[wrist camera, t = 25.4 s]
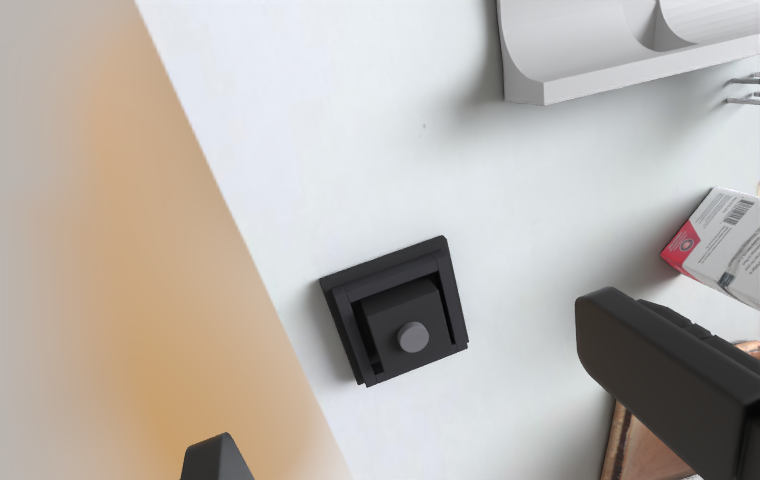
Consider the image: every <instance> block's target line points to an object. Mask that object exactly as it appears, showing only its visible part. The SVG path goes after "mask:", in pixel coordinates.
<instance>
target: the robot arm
mask: <svg viewBox="0 0 760 480" xmlns="http://www.w3.org/2000/svg"><path fill="white" fill-rule="evenodd" d="M575 323H576V342H577V353H578V356H579V359H580V361H581V363H582V365H583V367H584V368H585V370H586V371H587V373H588V374H589V375H590V376H591V377H592V378H593V379H594V380H595V381H596V382H598V383H599V384H600V385H601V386H602V387H603V388H604V389H605V390H606V391H607V392H608V393H610V394H611V395H612V396H613V397H614V398H615V399H616V400H617V401H618V402H619V403H621V404H622V405H623V406H624V407H625V408H626V409H627V410H628V411H629V412H630V413H631V414H633V415H634V416H635V417H636V418H637V419H638V420H639V421H640V422H641V423H642V424H644V425H645V426H646V427H647V428H648V429H649V430H650V431H651V432H652V433H653V434H654V435H656V436H657V437H658V438H659V439H660V440H661V441H662V442H663V443H664V444H665V445H667V446H668V447H669V448H670V449H671V450H672V451H673V452H674V453H675V454H676V455H677V456H679V457H680V458H681V459H682V460H683V461H684V462H685V463H686V464H687V465H688V466H690V467H691V468H692V469H693V470H694V471H695V472H696V473H697V474H698V475H699V476H701V477H702V478H703V479H704V480H760V360H758V359H757V358H755V357H753V356H751V355H750V354H748V353H746V352H744V351H743V350H741V349H739V348H738V347H736V346H734V345H732V344H731V343H729V342H727V341H725V340H724V339H722V338H720V337H718V336H717V335H714V336H713V335H712V334H711V333H710V331H708V330H706V329H705V328H703V327H701V326H699V325H698V324H696V323H695V324H692V323H691V320H689V319H687V318H685V317H684V316H682V315H680V314H678V313H677V312H675V311H673V310H672V309H670V308H668V307H665V306H662V305H658V304H655V303H652V302H649V301H645V300H642V299H639V300H634V299H632V298H631V297H629V296H627V295H626V294H624V293H622V292H621V291H619V290H617V289H616V288H613V287H605V288H602V289H599V290H597V291H594V292H592V293H589V294H586V295H584V296H581V297H579V298H577V299H576V301H575ZM180 480H255V479H254V477H253V475H252V474H251V472H250V470H249V469H248V466H247V464H246V462H245V461H244V459H243V457H242V455H241V453H240V451H239V449H238V448H237V446H236V444H235V442H234V440H233V439H232V437H231V435H230V434H229V433H227V432H225V433H222V434H220V435H217V436H215V437H212V438H209V439H207V440H204V441H202V442H199V443H196V444H194V445H192V446H189V447H188V448H187V450H186V453H185V457H184V463H183V468H182V474H181V479H180Z"/></svg>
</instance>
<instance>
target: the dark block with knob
mask: <svg viewBox="0 0 760 480" xmlns="http://www.w3.org/2000/svg"><path fill="white" fill-rule="evenodd" d="M359 301H360V304H361V307H362V310H363V313H364V316H365V319H366V322H367V325H368V328H369V331H370V334H371V337H372V340H373V343H374V346H375V349H376V352H377V355H378V357H379V360H380V362H381V365H382V368H383V370H384V373H385V375H389V374H391V373H394V372H396V371H399V370H401V369H404V368H407V367H409V366H412V365H414V364H417V363H419V362H422V361H424V360H427V359H430V358H432V357H435V356H437V355H440V354H442V353H445V352H448V351H450V350H452V346H451V342H450V337H449V333H448V329H447V325H446V321H445V317H444V312H443V308H442V304H441V300H440V296H439V291H438V290H437V289H436V287H435V286H434V285H433V284H432V282H431V281H430V280H429V278H428V277H427V276H426V275H425V276H422V277H419V278H416V279H414V280H411V281H408V282H405V283H403V284H400V285H397V286H394V287H392V288H389V289H386V290H384V291H381V292H378V293H375V294H373V295H370V296H367V297H364V298H362V299H359Z"/></svg>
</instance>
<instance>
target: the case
mask: <svg viewBox="0 0 760 480" xmlns="http://www.w3.org/2000/svg"><path fill="white" fill-rule="evenodd" d="M734 346H736V347H738V348H739V349H741V350H743V351H744V352H746V353H748V354H750V355H751V356H753V357H755V358H757V359H758V360H760V342H759V341H749V342H744V343H740V344H737V345H734ZM696 474H697V473H696V472H695V471H694V470H693V469H692V468H691V467H690V466H688V465H687V464H686V463H685V462H684V461H683V460H682V459H681V458H680V457H679V456H677V455H676V454H675V453H674V452H673V451H672V450H671V449H670V448H669V447H668V446H667V445H665V444H664V443H663V442H662V441H661V440H660V439H659V438H658V437H657V436H656V435H654V434H653V433H652V432H651V431H650V430H649V429H648V428H647V427H646V426H645V425H644V424H642V423H641V422H640V421H639V420H638V419H637V418H636V417H635V416H634V415H633V414H631V413H630V412H629V411H628V410H627V409H626V408H625V407H624V406H623V405H622V404H621V403H619V402H618V401H617V400H616V406H615V411H614V416H613V422H612V427H611V432H610V438H609V442H608V447H607V451H606V456H605V461H604V465H603V470H602V475H601V479H600V480H679V479H683V478H686V477H690V476H693V475H696Z"/></svg>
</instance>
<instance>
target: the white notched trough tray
mask: <svg viewBox="0 0 760 480" xmlns="http://www.w3.org/2000/svg"><path fill="white" fill-rule="evenodd" d="M497 13H498V24H499V33H500V41H501V50H502V59H503V68H504V94H505V101H507V102H515V103H525V104H534V105H543V106H545V105H550V104H554V103H558V102H562V101H566V100H571V99H575V98H579V97H583V96H587V95H592V94H596V93H600V92H604V91H609V90H613V89H617V88H621V87H625V86H630V85H634V84H638V83H642V82H646V81H651V80H655V79H659V78H663V77H668V76H672V75H676V74H680V73H684V72H688V71H693V70H697V69H701V68H705V67H709V66H713V65H718V64H722V63H726V62H730V61H734V60H738V59H743V58H747V57H751V56H755V55H759V54H760V0H497ZM755 77H760V72H757V73H755ZM731 83H741V84H760V79H732V80H731ZM754 96H759V97H760V92H754ZM727 103H739V104H754V105H760V100H754V99H737V98H729V99H727Z"/></svg>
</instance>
